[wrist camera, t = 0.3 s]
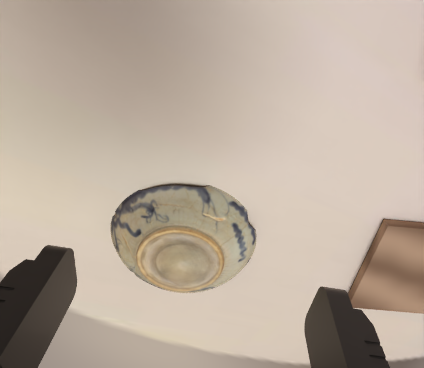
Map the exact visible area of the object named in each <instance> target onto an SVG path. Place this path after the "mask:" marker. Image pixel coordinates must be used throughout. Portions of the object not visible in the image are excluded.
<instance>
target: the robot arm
mask: <svg viewBox="0 0 424 368" xmlns="http://www.w3.org/2000/svg"><path fill="white" fill-rule="evenodd" d="M76 287H77V276H76V267H75V259H74V252H73V250H72V249H71V248H64V247H58V246H51V245H47V246H45V247H44V248H43V249H42V251H41V252H40V254H39V255H38V256H37V258H36V259H35V260H27V259H26V260H24V261H23V262H21V263H20V264H18V265H17V266H16V267H14V268H13V269H11V270H10V271H9V272H8V273H7V274H6V276H5V277H4V278H3V280H2V281H1V282H0V368H38V366H39V364H40V362H41V360H42V358H43V356H44V354H45V352H46V351H47V349H48V347H49V345H50V343H51V341H52V339H53V337H54V335H55V333H56V331H57V329H58V327H59V325H60V323H61V321H62V319H63V318H64V315H65V314H66V312H67V310H68V308H69V306H70V304H71V302H72V300H73V298H74V295H75V292H76ZM305 337H306V343H307V348H308V353H309V359H310V364H311V368H390V367H389V364H388V362H387V361H386V359H385V357H386V356H385V354H384V351H383V349H382V346H380V341H379V338H378V336H377V333H376V331H375V328H374V326H373V324H372V323H371V322H370V320H369V319H368V318H367V317H366V315H365V314H364V313H363V311H362V310H359V309H353V307H352V304H351V301H350V298H349V295H348V293H347V292H346V291H345V290H341V289H334V288H328V287H320V288H319V289H318V291H317V293H316V296H315V298H314V300H313V302H312V304H311V306H310V309H309V311H308V313H307V315H306V319H305Z"/></svg>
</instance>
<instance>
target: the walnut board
mask: <svg viewBox="0 0 424 368" xmlns="http://www.w3.org/2000/svg"><path fill="white" fill-rule="evenodd" d="M348 295H349V298H350V301H351V304H352V307H353V308H363V309H375V310H387V311H399V312H411V313H423V314H424V223H421V222H410V221H399V220H388V219H384V220H383V222H382V224H381V226H380V228H379V230H378V232H377V234H376V237H375V239H374V241H373V243H372V245H371V247H370V249H369V251H368V253H367V255H366V258H365V260H364V262H363V264H362V266H361V268H360V270H359V272H358V274H357V276H356V278H355V281H354V283H353V285H352V287H351V289H350V291H349V293H348Z"/></svg>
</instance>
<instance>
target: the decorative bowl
mask: <svg viewBox="0 0 424 368" xmlns="http://www.w3.org/2000/svg"><path fill="white" fill-rule="evenodd" d="M115 212H116V214H115V215H114V216H113V218H112V221H111V237H112V241H113V244H114V246H115V249H116V251H117V253H118V255H119V257H120V258H121V260H122V261H123V263H124V264H125V265H126V266H127V268H128V269H129V270H130V271H132V272H134V273H135V275H136V276H137V277H139V278H140V279H142V280H143V281H145V282H147V283H149V284H151V285H153V286H156V287H158V288H161V289H164V290H167V291H173V292H178V293H195V292H201V291H206V290H209V289H212V288H215V287H218V286H220V285H222V284H224V283H226V282H227V281H229V280H230V279H232V278H233V277H234V276H236V275H237V274H238V273H239V272H240V271H241V270H242V269H243V268H244V266H245V265H246V264H247V263H248V261H249V260H250V258H251V256H252V254H253V252H254V249H255V245H256V230H255V229H254V228H253V227H252V226H251V225H250V224H249V223H248V215H247V210H246V209H245V207H244V206H243V205H242V204H241V203H240V202H239V201H237V200H236V199H235V198H234V197H232V196H231V195H229V194H227V193H226V192H224V191H222V190H220V189H217V188H215V187H212V186H205V187H193V186H183V185H169V186H158V187H153V188H149V189H145V190H138V191H137V192H135V193H133V194H132V195H130V196H129V197H127V198H126V199H125V200H124V201H123V202H122V203H121V204H120V205H119V207H118V208H117V210H116V211H115Z"/></svg>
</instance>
